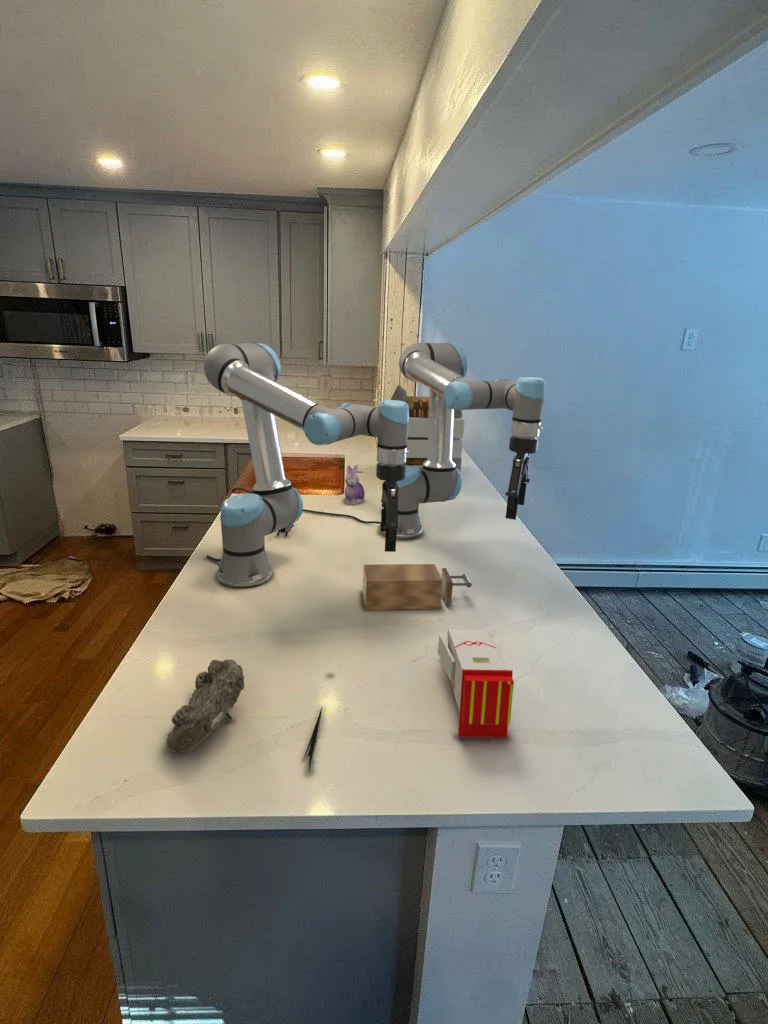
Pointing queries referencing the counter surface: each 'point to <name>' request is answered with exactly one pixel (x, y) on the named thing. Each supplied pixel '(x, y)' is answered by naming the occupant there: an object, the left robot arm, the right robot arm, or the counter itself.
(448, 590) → the drawer
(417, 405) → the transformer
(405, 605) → the cabinet
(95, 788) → the counter surface
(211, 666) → the fossil
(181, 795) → the counter surface
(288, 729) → the counter surface
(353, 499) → the figurine
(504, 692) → the toy
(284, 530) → the figurine character
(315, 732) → the feather
